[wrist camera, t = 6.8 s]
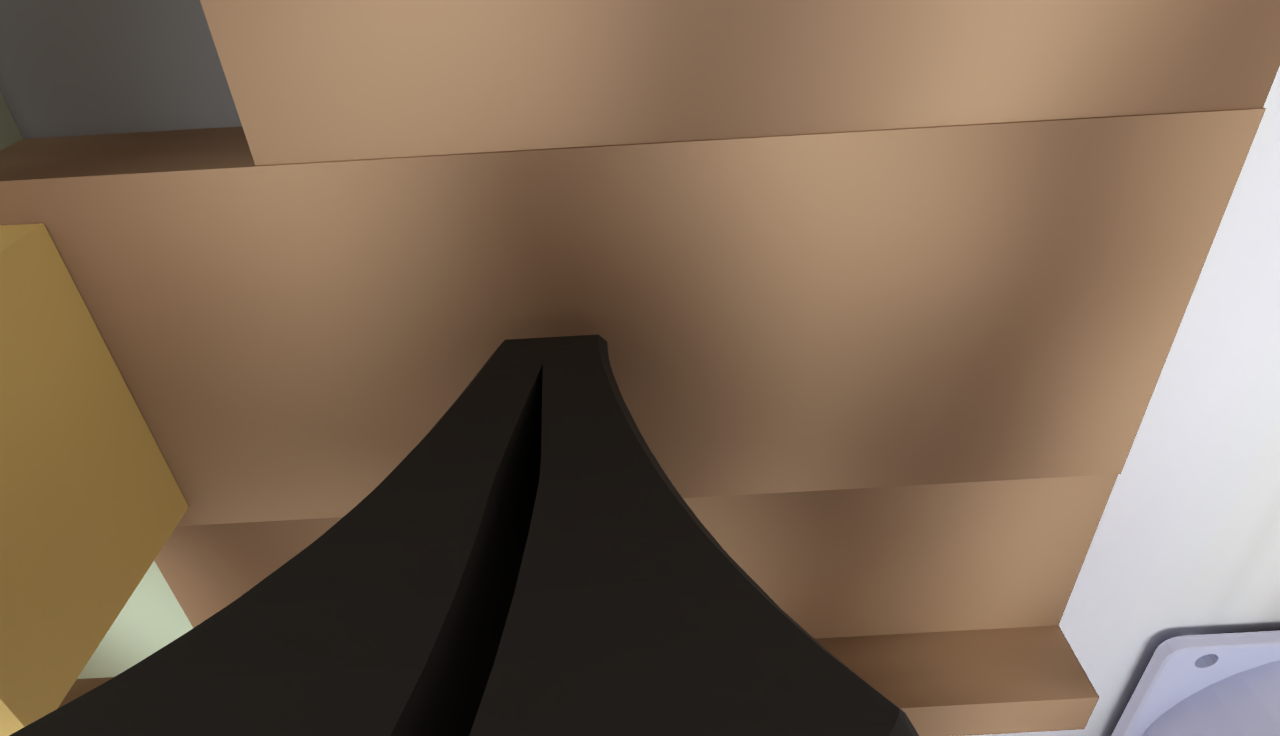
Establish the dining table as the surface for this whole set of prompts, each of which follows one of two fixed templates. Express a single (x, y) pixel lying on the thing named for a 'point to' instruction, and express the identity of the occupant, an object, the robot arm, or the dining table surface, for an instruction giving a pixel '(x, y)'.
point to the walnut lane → (657, 275)
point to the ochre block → (65, 482)
